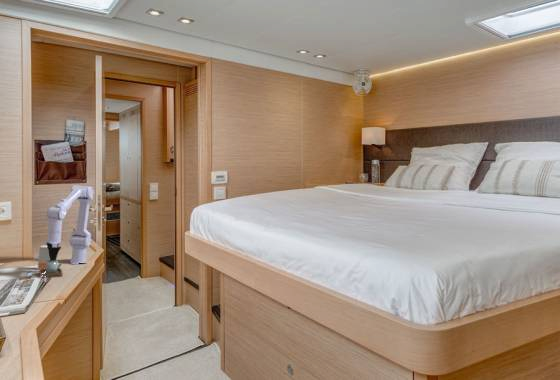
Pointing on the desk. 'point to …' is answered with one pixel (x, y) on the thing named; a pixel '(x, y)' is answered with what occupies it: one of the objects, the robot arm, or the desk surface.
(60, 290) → the desk surface
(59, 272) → the tray
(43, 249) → the skincare box
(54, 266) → the cup
